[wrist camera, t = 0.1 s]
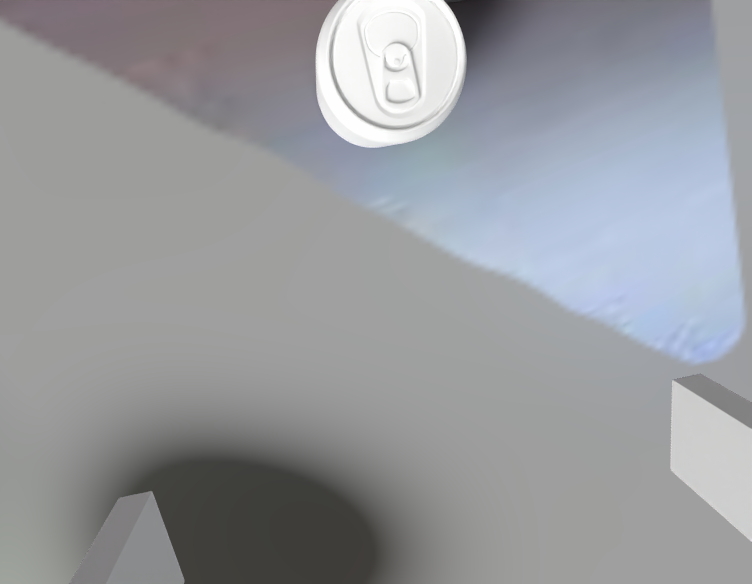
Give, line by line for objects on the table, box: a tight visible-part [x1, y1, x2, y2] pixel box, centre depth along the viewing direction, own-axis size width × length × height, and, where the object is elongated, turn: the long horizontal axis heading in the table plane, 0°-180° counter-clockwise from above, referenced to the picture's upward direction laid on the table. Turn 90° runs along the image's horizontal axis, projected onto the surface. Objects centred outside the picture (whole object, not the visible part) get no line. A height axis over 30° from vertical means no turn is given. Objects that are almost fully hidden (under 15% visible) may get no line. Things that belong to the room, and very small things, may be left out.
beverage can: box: [316, 0, 467, 148], centre depth 29 cm, size 8×8×12 cm
